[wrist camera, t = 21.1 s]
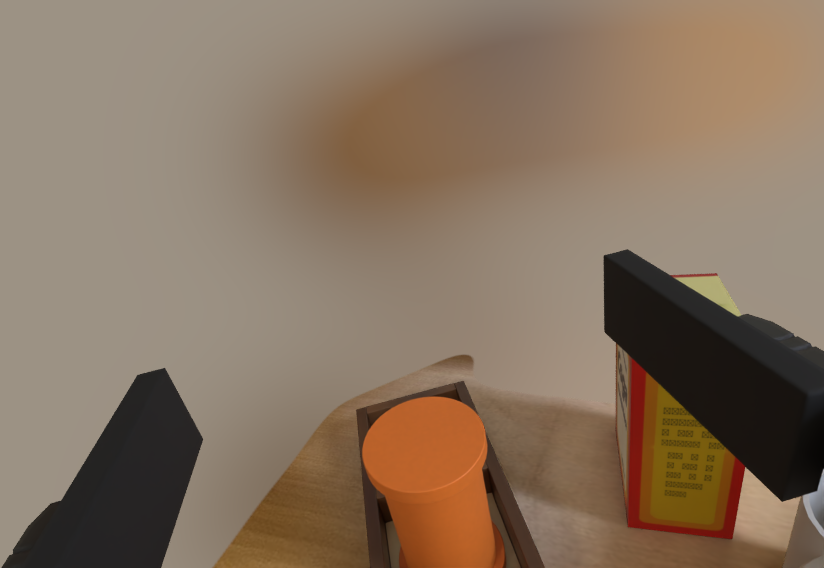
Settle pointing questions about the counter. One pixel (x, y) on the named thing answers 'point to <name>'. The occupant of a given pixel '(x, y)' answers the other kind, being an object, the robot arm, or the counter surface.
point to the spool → (435, 483)
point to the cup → (808, 532)
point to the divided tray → (503, 507)
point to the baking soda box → (673, 449)
